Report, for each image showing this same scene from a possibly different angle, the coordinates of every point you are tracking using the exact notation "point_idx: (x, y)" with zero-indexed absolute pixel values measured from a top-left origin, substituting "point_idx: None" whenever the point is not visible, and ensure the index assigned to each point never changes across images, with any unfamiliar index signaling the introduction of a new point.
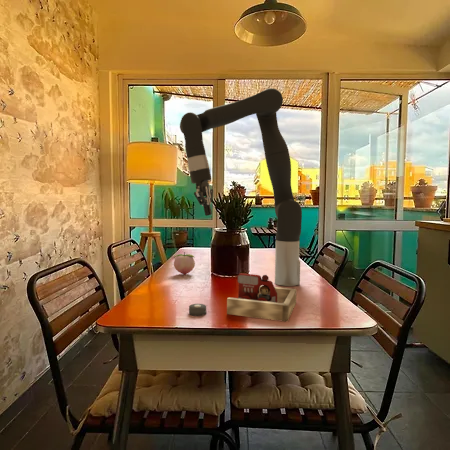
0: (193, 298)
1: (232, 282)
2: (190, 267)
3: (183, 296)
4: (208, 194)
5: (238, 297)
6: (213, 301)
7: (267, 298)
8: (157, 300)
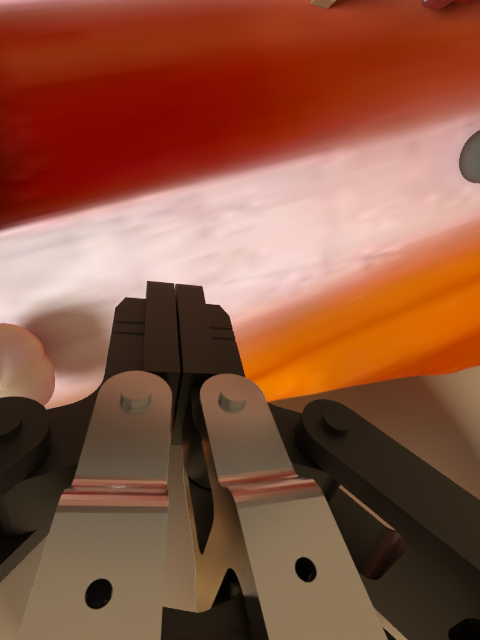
0: (344, 210)
1: (77, 99)
2: (29, 332)
3: (326, 249)
4: (162, 619)
5: (445, 5)
6: (372, 130)
7: None
8: (372, 308)
